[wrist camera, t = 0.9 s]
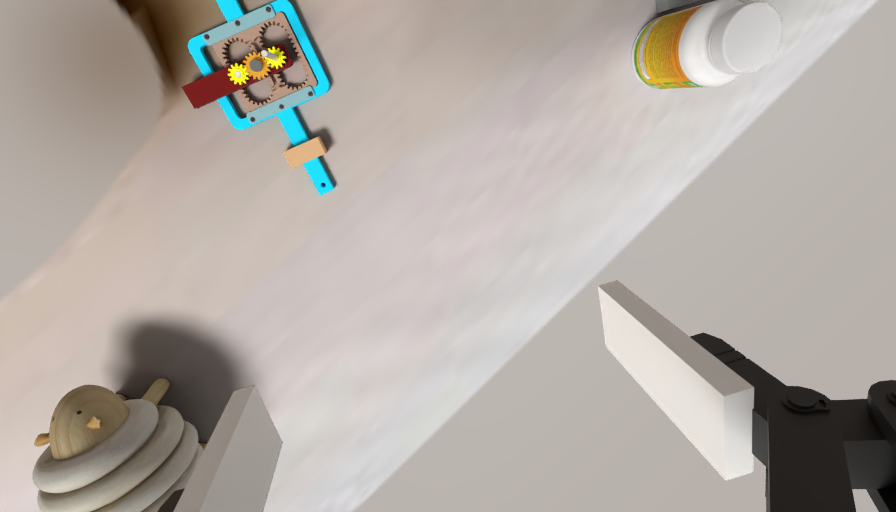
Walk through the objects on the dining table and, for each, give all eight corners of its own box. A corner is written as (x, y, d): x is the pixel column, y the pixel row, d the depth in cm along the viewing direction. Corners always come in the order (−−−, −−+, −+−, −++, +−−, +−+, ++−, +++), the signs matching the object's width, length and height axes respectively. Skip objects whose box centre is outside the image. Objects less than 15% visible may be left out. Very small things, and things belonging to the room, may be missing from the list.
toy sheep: (166, 331, 38) (86, 417, 28) (263, 469, 44) (226, 583, 34) (50, 377, 38) (-73, 481, 28) (163, 509, 44) (96, 635, 34)
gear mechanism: (268, 216, 37) (372, 170, 37) (250, 234, 32) (370, 181, 32) (110, -51, 30) (239, -108, 30) (55, -81, 25) (210, -151, 25)
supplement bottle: (634, 97, 37) (715, 97, 28) (624, 28, 35) (708, 3, 26) (694, 77, 37) (795, 70, 28) (688, 7, 35) (793, -25, 26)
